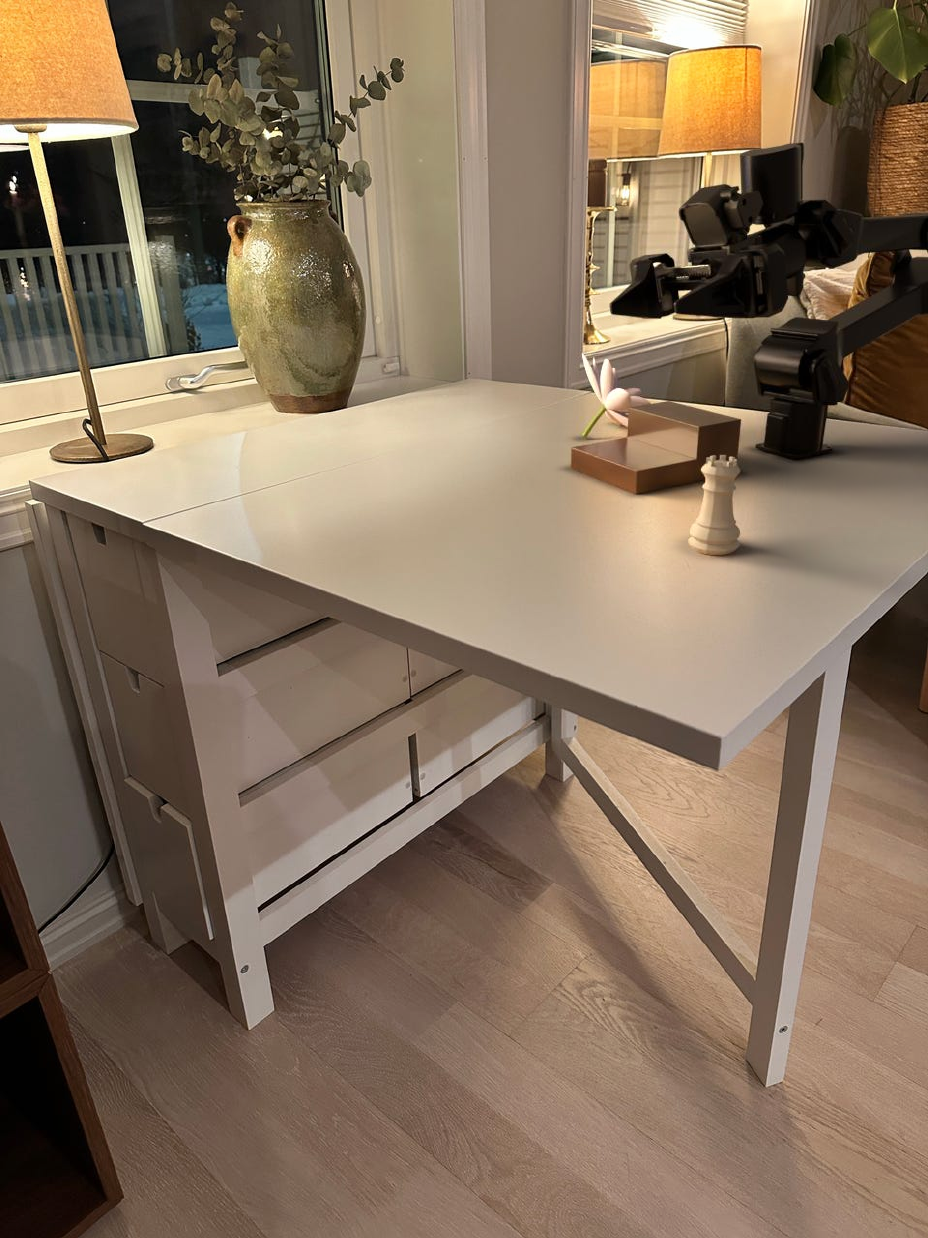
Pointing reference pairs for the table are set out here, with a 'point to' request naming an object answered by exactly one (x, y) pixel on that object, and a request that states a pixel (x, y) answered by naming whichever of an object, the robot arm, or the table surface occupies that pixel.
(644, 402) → the water lily
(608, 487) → the table surface
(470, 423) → the table surface
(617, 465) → the step shelf
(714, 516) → the rook chess piece
